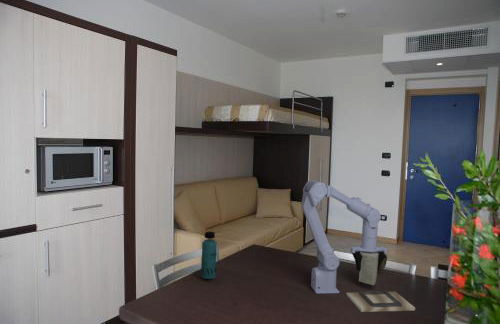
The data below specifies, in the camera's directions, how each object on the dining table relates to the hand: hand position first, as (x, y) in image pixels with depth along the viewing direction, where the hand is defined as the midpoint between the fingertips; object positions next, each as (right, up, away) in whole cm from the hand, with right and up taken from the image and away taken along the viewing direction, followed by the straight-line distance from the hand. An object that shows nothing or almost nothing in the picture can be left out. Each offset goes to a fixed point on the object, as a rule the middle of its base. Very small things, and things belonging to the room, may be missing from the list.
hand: (367, 270), depth 136 cm
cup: (+12, -7, +20) cm, 24 cm away
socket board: (0, -8, -12) cm, 14 cm away
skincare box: (0, -5, 0) cm, 5 cm away
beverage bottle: (-65, -6, +5) cm, 66 cm away
